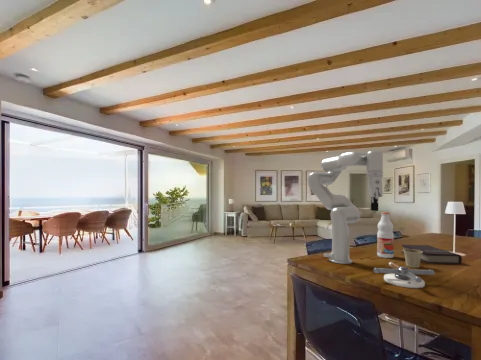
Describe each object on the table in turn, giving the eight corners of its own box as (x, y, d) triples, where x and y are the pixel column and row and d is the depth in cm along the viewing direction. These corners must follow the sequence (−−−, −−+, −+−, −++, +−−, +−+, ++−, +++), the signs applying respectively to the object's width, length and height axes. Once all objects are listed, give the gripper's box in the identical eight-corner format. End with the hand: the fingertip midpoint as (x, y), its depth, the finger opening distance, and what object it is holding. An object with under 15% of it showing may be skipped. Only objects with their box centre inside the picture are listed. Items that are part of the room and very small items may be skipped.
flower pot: (425, 269, 151) (425, 253, 151) (406, 268, 153) (406, 251, 153) (418, 264, 160) (418, 249, 160) (400, 263, 162) (400, 248, 162)
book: (461, 264, 164) (461, 254, 164) (427, 263, 164) (427, 253, 165) (430, 254, 192) (430, 245, 192) (401, 253, 192) (401, 244, 192)
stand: (389, 286, 122) (389, 281, 122) (379, 275, 138) (379, 271, 138) (431, 289, 119) (431, 285, 119) (416, 278, 134) (416, 274, 134)
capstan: (454, 289, 114) (453, 277, 114) (386, 286, 116) (386, 274, 116) (417, 271, 140) (417, 261, 141) (363, 268, 142) (363, 259, 143)
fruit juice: (383, 254, 186) (383, 211, 187) (397, 257, 178) (396, 212, 179) (373, 255, 181) (374, 211, 182) (387, 258, 173) (387, 213, 174)
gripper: (386, 174, 137) (386, 211, 137) (378, 175, 152) (378, 210, 151) (370, 173, 139) (370, 211, 138) (363, 175, 154) (363, 209, 153)
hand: (374, 210), depth 145 cm, fingers closed
